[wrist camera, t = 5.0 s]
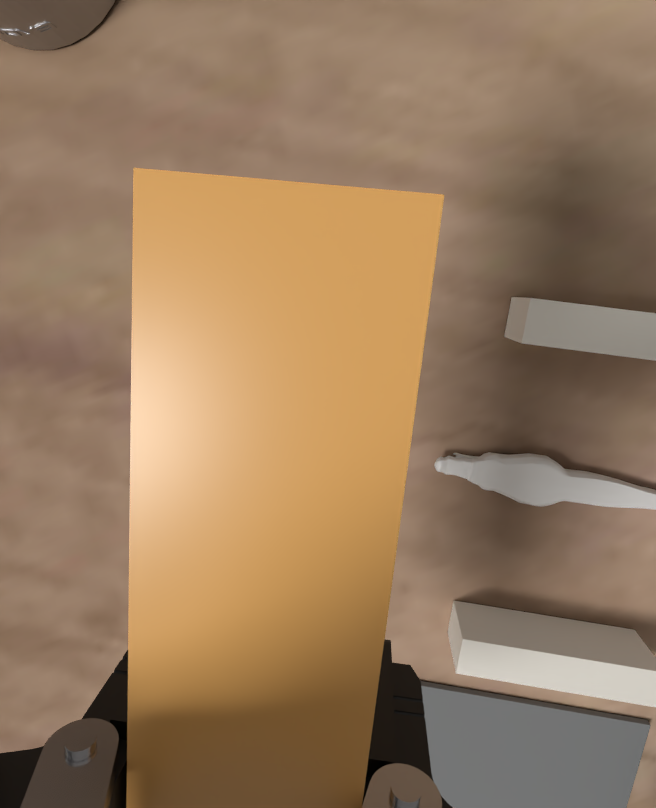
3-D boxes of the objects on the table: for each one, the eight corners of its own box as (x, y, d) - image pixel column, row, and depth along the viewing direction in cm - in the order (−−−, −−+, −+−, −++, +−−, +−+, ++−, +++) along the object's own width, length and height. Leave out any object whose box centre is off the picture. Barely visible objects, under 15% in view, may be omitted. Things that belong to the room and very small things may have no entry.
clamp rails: (511, 296, 27) (530, 297, 24) (719, 322, 26) (769, 327, 23) (447, 631, 31) (455, 673, 28) (626, 660, 31) (656, 707, 27)
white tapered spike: (427, 479, 30) (430, 491, 28) (436, 433, 29) (440, 442, 27) (706, 528, 29) (729, 544, 27) (722, 481, 28) (745, 494, 27)
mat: (353, 669, 32) (353, 673, 32) (647, 719, 31) (650, 725, 31) (336, 779, 34) (336, 785, 34) (614, 831, 33) (617, 837, 32)
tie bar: (211, 204, 10) (133, 167, 7) (420, 223, 10) (444, 194, 7) (178, 994, 15) (121, 1199, 12) (319, 1019, 15) (304, 1235, 12)
